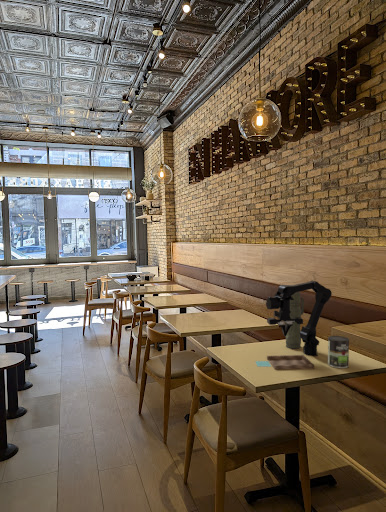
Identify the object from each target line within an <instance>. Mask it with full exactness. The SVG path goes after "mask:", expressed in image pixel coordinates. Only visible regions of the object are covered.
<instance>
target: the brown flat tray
mask: <svg viewBox="0 0 386 512" xmlns="http://www.w3.org/2000/svg"><path fill="white" fill-rule="evenodd" d="M266 360H267V361H269V363H270V365H271V367H272V368H273V369H274V370H306V369H307V370H311V369H312V370H314V369H315V364H314V363H313V362H311V361H310V360H309V359H308V358H307V357H306V356H305V354H287V355H286V354H285V355H266Z"/></svg>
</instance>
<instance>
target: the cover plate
mask: <svg viewBox="0 0 386 512" xmlns="http://www.w3.org/2000/svg"><path fill="white" fill-rule="evenodd" d="M254 363H255V364H256V366H257V367H259V368H261V367H269V368H270V367H272V365H271V364H270V362H269V361H268V360H267V361H266V360H264V361H263V360H261V361H260V360H256V361H254Z"/></svg>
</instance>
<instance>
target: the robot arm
mask: <svg viewBox="0 0 386 512" xmlns="http://www.w3.org/2000/svg"><path fill="white" fill-rule="evenodd" d="M278 286H279V287H278V289H277V291H276V293H275V294H274V296H268V297H267V299H266V302H265V306H266V309H267V310H274V311H273V317H268V318H267V319H266V323H267V324H268V325H269V326H274V325H278V326H279V327H280V328H281V331H282V334H283V336H284V337H286V335H287V333H288V331H289V329H290V327H291V326H293V324H292V322H296V323H297V324H300V325H304V319H303V318H302V317H301V318H300V317H293V319H291V318H290V313H291V311H290V300H294V298H292V297H291V295H294V294H295V293H296V292H304V291H309V290H312V291H313V292H314V293H315V295H314V297H315V303H314V305H313V308H312V311H311V313H310V316H309V318H308V321H307V324H306V325H305V326H302V327H301V328H300V337H301V342H302V343H303V344H304V345H303V347H302V348H303V355H306V356H312V357H317V356H319V354H318V346H319V344H320V340H319V339H318V338H317V337H316V336H317V325H318V323H319V320H320V318H321V315H322V312H323V309H324V306H325V305H326V303H328V302H329V300H330V299H331V297H332V290H331V289H330V288H327V287H326V286H324V285H322V284H321V283H319V282H318V281H316V280H310V281H305V282H301V283H297V284H282V285H278Z"/></svg>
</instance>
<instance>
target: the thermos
mask: <svg viewBox="0 0 386 512" xmlns="http://www.w3.org/2000/svg"><path fill="white" fill-rule="evenodd" d="M300 292H301V291H300ZM300 292H296V293H295V294H294V295H291V297H292V298H294V300H290V311H291V313H290V318H291V319H293V317H300V318H302V315H303V314H304V313H305V310H304V307H305V305H304V304H305V301H304V300H305V299H303V297H301V293H300ZM292 324H293V326H291V327H290V329H289V331H288V333H287V335H286V336H285V348H287V349H290V350H299V349H301V345H302V339H301V337H300V331H301V324H297V323H296V322H292Z"/></svg>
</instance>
